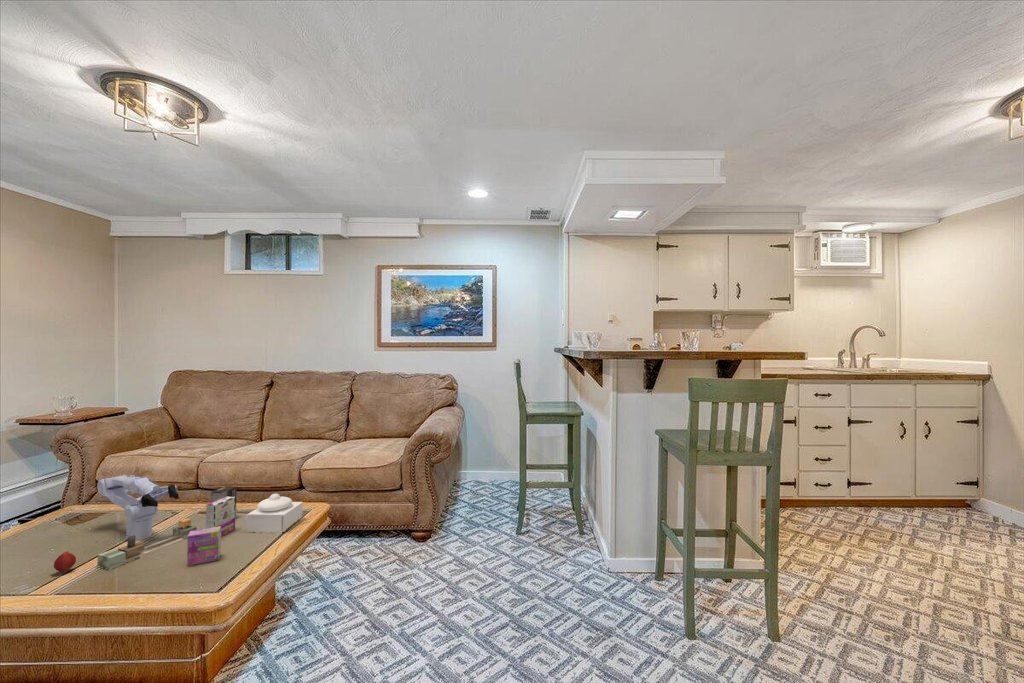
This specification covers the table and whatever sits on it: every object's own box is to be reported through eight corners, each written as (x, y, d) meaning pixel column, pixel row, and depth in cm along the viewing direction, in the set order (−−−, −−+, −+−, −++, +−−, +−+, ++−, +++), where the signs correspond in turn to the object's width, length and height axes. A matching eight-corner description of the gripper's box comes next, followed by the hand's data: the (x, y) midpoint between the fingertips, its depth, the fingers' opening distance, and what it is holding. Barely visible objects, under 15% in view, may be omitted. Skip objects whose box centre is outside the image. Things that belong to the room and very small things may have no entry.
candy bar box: (226, 531, 200) (227, 495, 201) (235, 532, 200) (236, 496, 200) (204, 541, 190) (205, 504, 190) (214, 542, 189) (215, 504, 189)
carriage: (117, 554, 172) (118, 538, 173) (135, 548, 178) (135, 532, 178) (126, 557, 170) (127, 540, 170) (144, 550, 176) (144, 534, 176)
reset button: (178, 530, 192) (178, 520, 193) (186, 528, 195) (186, 518, 196) (183, 531, 191) (183, 521, 192) (190, 529, 194) (191, 519, 194)
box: (186, 566, 167) (187, 535, 168) (189, 560, 172) (190, 530, 173) (218, 560, 172) (219, 530, 172) (220, 554, 177) (221, 525, 177)
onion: (55, 577, 159) (56, 555, 159) (51, 573, 162) (52, 551, 162) (77, 570, 163) (78, 549, 164) (73, 566, 167) (73, 546, 167)
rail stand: (97, 566, 167) (97, 554, 167) (184, 534, 197) (184, 524, 197) (109, 569, 164) (110, 558, 164) (196, 536, 194) (196, 526, 194)
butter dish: (268, 519, 216) (268, 487, 217) (303, 519, 215) (303, 487, 216) (245, 533, 198) (246, 498, 199) (283, 534, 198) (283, 499, 198)
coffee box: (225, 517, 217) (225, 485, 218) (236, 518, 216) (237, 486, 217) (210, 524, 208) (211, 491, 209) (222, 525, 207) (222, 491, 208)
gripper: (130, 489, 183) (146, 499, 177) (169, 476, 196) (185, 484, 190) (131, 504, 184) (147, 514, 178) (170, 490, 197) (186, 499, 191)
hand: (167, 500), depth 184 cm, fingers open, 7 cm apart
